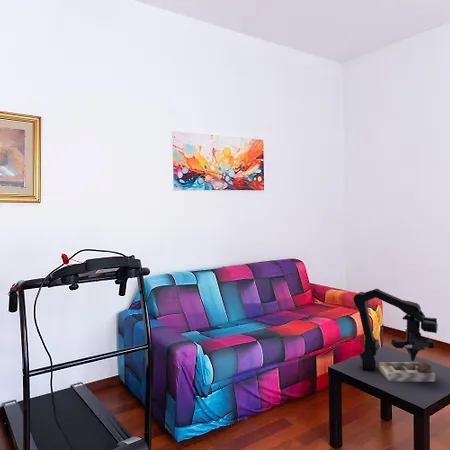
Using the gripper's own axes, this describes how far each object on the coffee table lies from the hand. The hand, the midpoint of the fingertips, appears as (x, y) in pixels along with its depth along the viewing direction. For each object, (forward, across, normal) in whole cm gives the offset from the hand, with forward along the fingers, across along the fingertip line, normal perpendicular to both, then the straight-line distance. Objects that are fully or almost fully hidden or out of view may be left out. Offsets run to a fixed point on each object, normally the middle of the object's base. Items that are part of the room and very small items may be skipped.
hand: (412, 360), depth 195 cm
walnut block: (+6, +6, 0) cm, 9 cm away
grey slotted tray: (+9, -2, +3) cm, 9 cm away
